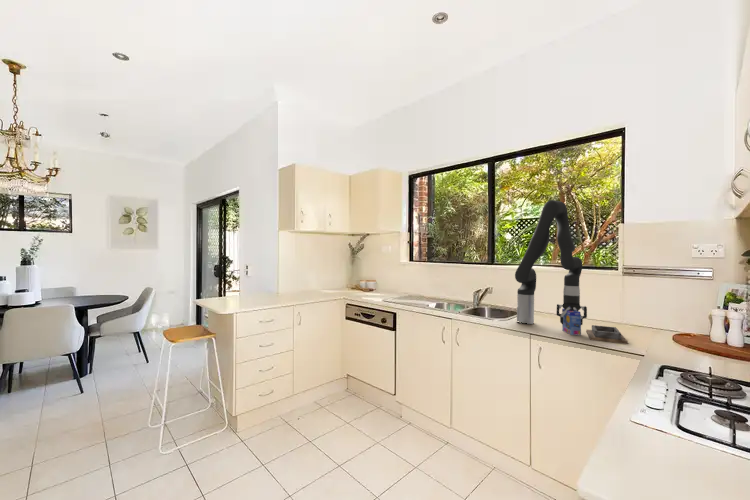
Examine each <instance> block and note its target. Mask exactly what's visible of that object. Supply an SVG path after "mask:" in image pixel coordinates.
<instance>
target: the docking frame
mask: <svg viewBox="0 0 750 500" xmlns="http://www.w3.org/2000/svg"><path fill="white" fill-rule="evenodd" d="M585 332H586V334H587V336H588V338H589V340H591V341H597V342H606V343H607V342H608V343H616V344H625V345H626V344H627V345H628V344H629V343H628V340H627V339H626V337H625V336H624V335H623V334H622V333H621V331H619V329H618V328H617V327H616V326H605V325H596V324H595V325H594V324H591V329H586V331H585Z"/></svg>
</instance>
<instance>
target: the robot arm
mask: <svg viewBox="0 0 750 500" xmlns="http://www.w3.org/2000/svg"><path fill="white" fill-rule="evenodd" d="M568 215H569V214H568V207H567V205H566V204H565V203H564V202H563V201H559V200H555V199H554V200H553V199H550V200H548V201H546V202H545V203H544V205H543V207H542V210H541V213H540V217H539V219H538V222H537V224H536V225H537V226H536V227H535V229H534V232H533V234H532V237H531V239H530V240H529V243H528V246H527V249H526V251H525V253H524V256H523V257H522V260H521V261H520V263H519V265H518V267H517V269H516V271H515V273H514V279H515V281H516V282H518V283H519V284H521V285H520V287H519V288H518V289H517V295H516V296H517V303H516V304H517V305H516V306H517V307H516V322H517V321H519V322H522V323H527V324H526V325H533V323H535V291H536V289H537V272H536V270H535V269H534V268H533V267H534V264H535V263H536V262H537V261H538V260H539V259H540V258H541V256H543V254H544V253H545V251H546V249H547V247H548V245H549V243H550V239H551V236H550V234H551V233H550V230H551V226H552V223H553V220H555V222H556V226H557V233H556V240H557V244H558V247H559V250H560V255H559V256H560V259H559V260H560V265H561V267H562V268H563V269H565V270H566V271H568V273H567V274H565V275H564V278H563V291H562V293H563V299H562V301H563V302H562V304H559V303H557V304H556V316H558V317H559V320H560V321H559V322H560V324H561V325H562V324H563V316H564V315H565V314H566V313H567V311H568V310H571V309H570V307H571V308H572V310H573V311H579V312H580V310H582V311H583V315H581V326H583V322H584V321H583V320H584V319H587V318H588V307H587V306H586V305H584V306H583V305H581V304H580V303H581V302H580V300H581V289H580V277H581V275H582V270H583V260H582V259H581V258H580V257H578V256H573V252H575V250H576V247H575V244H574V239H573V237H572V233H571V229H570V223H569V216H568ZM569 306H570V307H569ZM561 309H564V310H565V311H563V312H562V311H561V313H560V310H561ZM566 310H567V311H566ZM522 323H521V324H522Z"/></svg>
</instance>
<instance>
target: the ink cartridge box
mask: <svg viewBox="0 0 750 500" xmlns="http://www.w3.org/2000/svg"><path fill="white" fill-rule="evenodd" d="M569 307H570V306H569ZM561 309H562V310H561V313H562V312H563V311H565V310H564V308H561ZM570 309H571V310H568V311H567V310H566V311H567V313H566V314H565V315H564V316H563V324H562V323H561V325H562V331H563V332H564V333H566V334H568V335H570V336H582V325H581V316H582V314H581V311H580V310H579V311H573V310H572V308H571V307H570Z"/></svg>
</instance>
